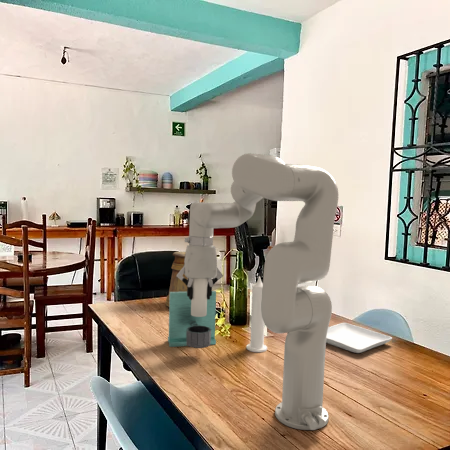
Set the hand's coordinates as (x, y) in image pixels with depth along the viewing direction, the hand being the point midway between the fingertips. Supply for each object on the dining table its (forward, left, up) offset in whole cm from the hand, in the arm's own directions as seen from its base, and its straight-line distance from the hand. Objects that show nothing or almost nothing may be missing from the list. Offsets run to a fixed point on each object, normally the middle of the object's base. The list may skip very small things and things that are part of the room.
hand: (199, 297), depth 139 cm
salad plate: (+5, -57, -20) cm, 61 cm away
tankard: (+62, -7, -19) cm, 66 cm away
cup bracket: (+6, 0, -19) cm, 20 cm away
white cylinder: (0, 0, -5) cm, 5 cm away
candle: (+4, -21, -19) cm, 29 cm away
